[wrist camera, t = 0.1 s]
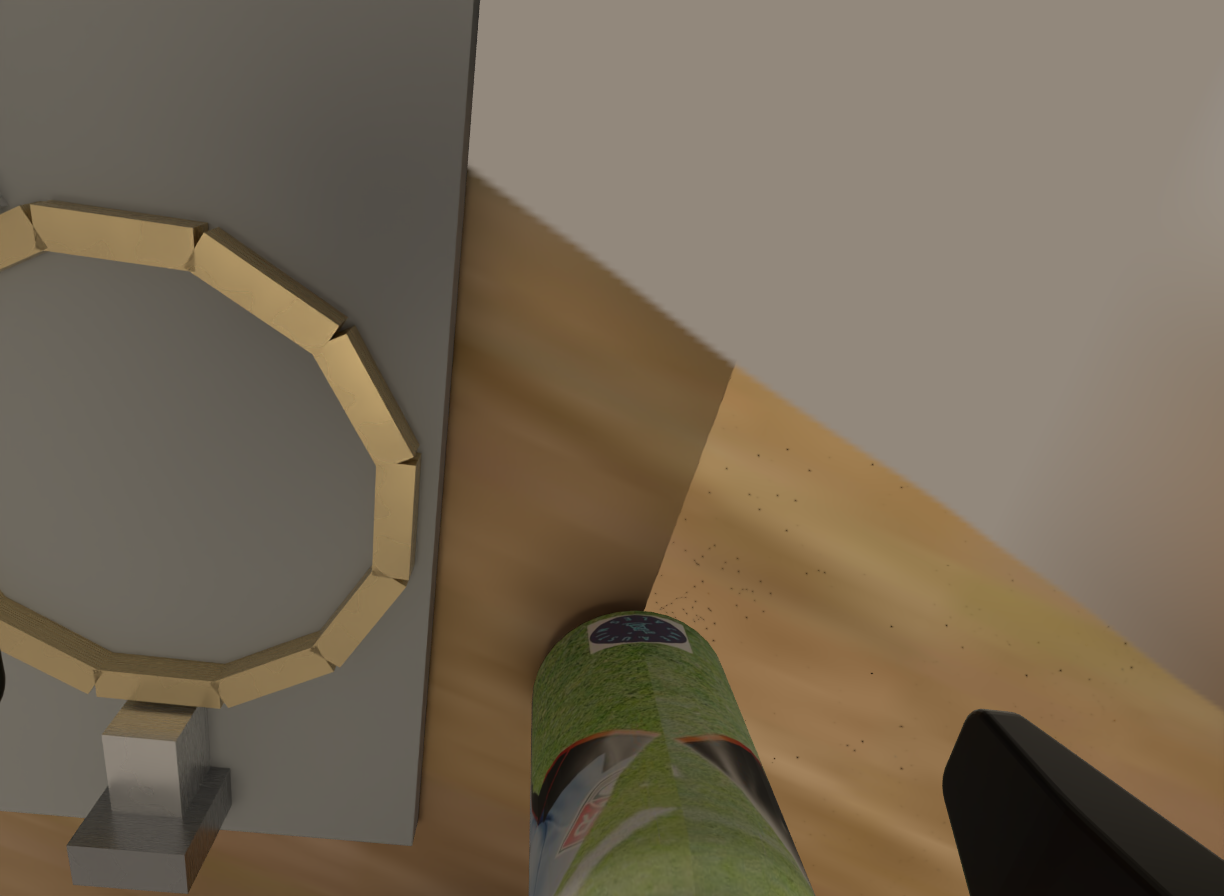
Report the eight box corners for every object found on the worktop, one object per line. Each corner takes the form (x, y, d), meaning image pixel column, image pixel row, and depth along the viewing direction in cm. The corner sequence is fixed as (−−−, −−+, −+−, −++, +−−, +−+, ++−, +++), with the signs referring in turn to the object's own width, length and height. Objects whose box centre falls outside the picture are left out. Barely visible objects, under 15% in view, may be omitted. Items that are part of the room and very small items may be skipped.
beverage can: (519, 730, 27) (470, 1175, 16) (563, 543, 24) (542, 929, 13) (701, 759, 28) (774, 1204, 17) (766, 580, 25) (907, 977, 14)
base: (417, 821, 28) (411, 845, 27) (-34, 781, 27) (-55, 805, 26) (481, -21, 18) (475, -26, 17) (-248, -149, 17) (-297, -162, 16)
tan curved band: (398, 819, 27) (375, 908, 24) (-55, 779, 26) (-137, 868, 23) (445, 73, 18) (416, 70, 15) (-256, -44, 17) (-438, -72, 14)
